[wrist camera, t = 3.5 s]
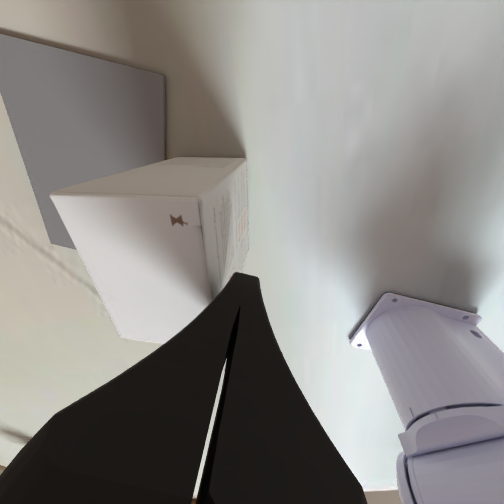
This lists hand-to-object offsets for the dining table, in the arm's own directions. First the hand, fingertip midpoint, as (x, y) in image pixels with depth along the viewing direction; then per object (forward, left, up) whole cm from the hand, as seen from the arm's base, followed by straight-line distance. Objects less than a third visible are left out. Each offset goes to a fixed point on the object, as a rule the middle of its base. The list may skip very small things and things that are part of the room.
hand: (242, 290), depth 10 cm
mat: (+14, 0, -10) cm, 17 cm away
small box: (+4, 0, -10) cm, 10 cm away
